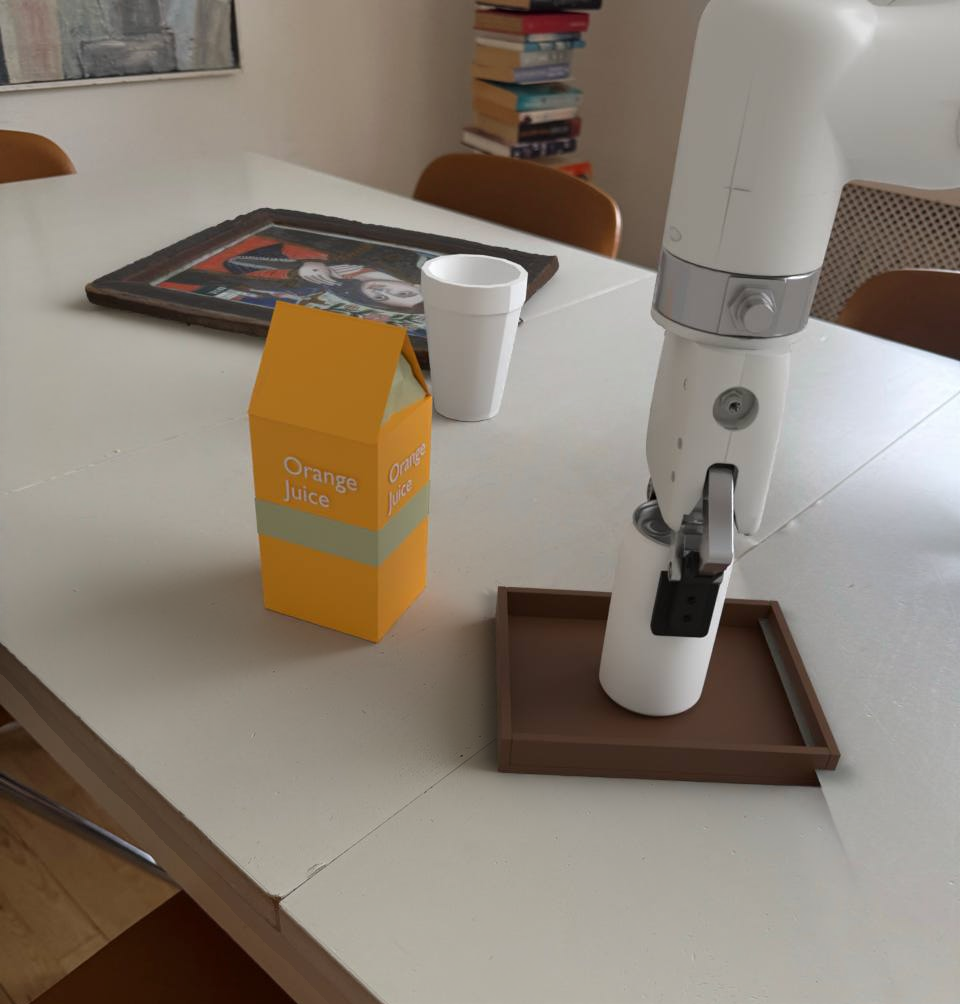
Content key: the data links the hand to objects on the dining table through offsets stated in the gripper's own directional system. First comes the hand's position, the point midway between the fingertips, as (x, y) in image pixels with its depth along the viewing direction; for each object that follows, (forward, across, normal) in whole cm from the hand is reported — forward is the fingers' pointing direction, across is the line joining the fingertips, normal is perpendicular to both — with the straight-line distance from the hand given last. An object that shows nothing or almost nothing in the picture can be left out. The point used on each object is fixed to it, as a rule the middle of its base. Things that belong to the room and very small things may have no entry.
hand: (668, 594), depth 59 cm
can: (+7, 0, 0) cm, 7 cm away
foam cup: (+8, +42, +12) cm, 44 cm away
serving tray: (+8, 0, 0) cm, 8 cm away
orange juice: (+8, +9, +20) cm, 23 cm away
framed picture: (+8, +73, +27) cm, 78 cm away
